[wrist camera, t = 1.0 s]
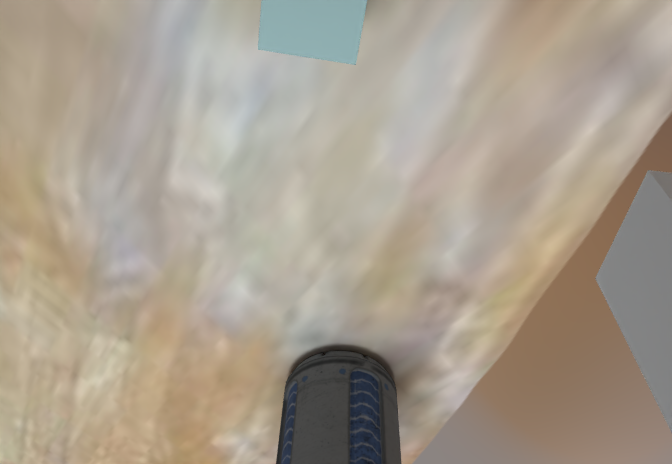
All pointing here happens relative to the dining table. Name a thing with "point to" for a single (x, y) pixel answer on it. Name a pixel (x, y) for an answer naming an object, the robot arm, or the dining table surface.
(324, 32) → the pale blue rectangular block
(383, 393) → the beverage bottle
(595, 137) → the dining table surface
